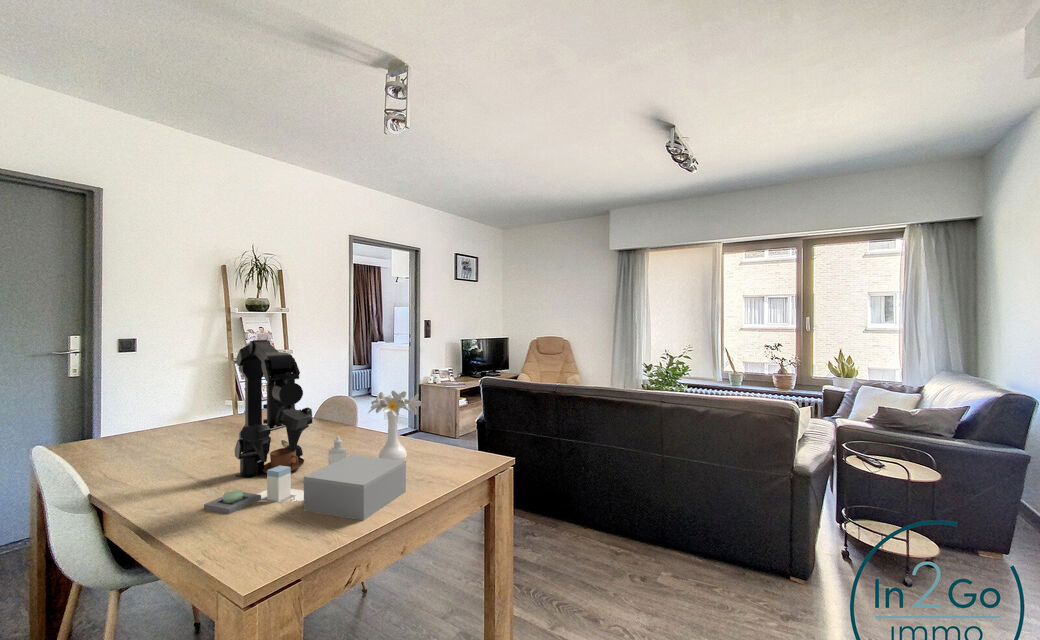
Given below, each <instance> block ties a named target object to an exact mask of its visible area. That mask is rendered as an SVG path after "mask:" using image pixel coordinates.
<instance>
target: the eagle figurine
mask: <svg viewBox="0 0 1040 640" xmlns="http://www.w3.org/2000/svg"><path fill="white" fill-rule="evenodd" d="M280 442H281V445H282V446H283V448H288V449H289V450H290V447H289V442H288V441H286V440H283V439H282V440H281V441H280ZM303 455H304V454H303V449H302V447H301V445H299V444H297V446H296V456H297V458H302V459H304V460H306V458H305V457H303Z"/></svg>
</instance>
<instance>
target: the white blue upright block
mask: <svg viewBox="0 0 1040 640" xmlns="http://www.w3.org/2000/svg"><path fill="white" fill-rule="evenodd" d="M266 475H267V476H266V486H267V487H266V490H267V499H268V500H274V501H280V500H282V499H284V498H286V497H289V496H291V489H292V487H291V486H292V485H291V484H292V483H291V481H292V480H291V475H292V471H291V467H288V466H281V465H279V466H277V467H274V468H271V469H269V470H267V473H266Z"/></svg>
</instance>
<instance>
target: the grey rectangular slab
mask: <svg viewBox="0 0 1040 640" xmlns="http://www.w3.org/2000/svg"><path fill="white" fill-rule="evenodd" d="M303 491H304V501H303V511H305V512H311V513H315V514H316V513H317V514H324V515H330V516H333V517H340V518H348V519H353V520H360V521H365V520H367V519H368V518H370V517H371V516H373V515H374V514H376V513H377V512H379V511H380V510H382V509H383V508H385V507H386V506H387V505H389V504H390V503H392V502H393V501H395V500H396V499H398V498H399V497H401V496H402V495H404V494H405V493H406V492H407V462H406V460H404V461H401V460H392V459H384V458H378V457H374V456H373V457H372V456H366V455H365V456H364V455H357V454H356V455H355V454H351V455H348V457H346V458H344V459H342V460H340V461H337V462H335V463H333V464H331V465H329V464H328V465H327V466H324V467H322V468H320V469H318V470H315V471H313V472H311V473H309V474H306V475H304V476H303Z"/></svg>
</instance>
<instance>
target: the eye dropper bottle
mask: <svg viewBox="0 0 1040 640" xmlns="http://www.w3.org/2000/svg"><path fill="white" fill-rule="evenodd" d="M333 444H334V445H333V447H332V448H331V449H329V450H328V465H331V464H333V463H335V462H337V461H340V460H342V459H344V458H346V457H348V456H349V455H348V454H349V453H348V452H349V451H348V450H349V449H348V448H346V447H345V446H344V447H343V440H342V439H341V438H340V435H337V436H336V439H335V440H333Z"/></svg>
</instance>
